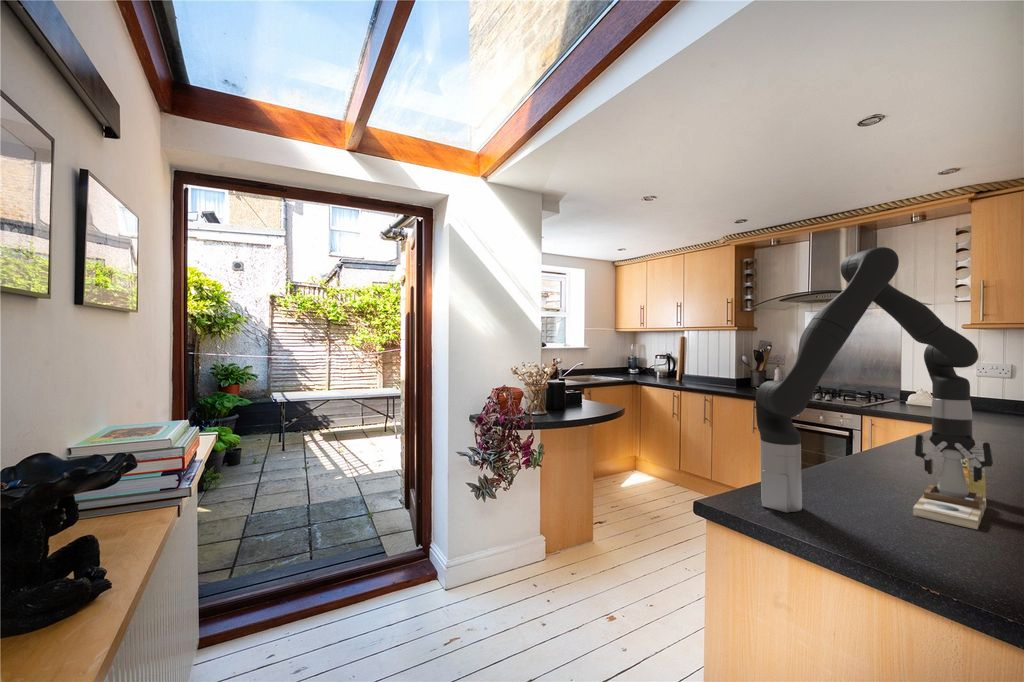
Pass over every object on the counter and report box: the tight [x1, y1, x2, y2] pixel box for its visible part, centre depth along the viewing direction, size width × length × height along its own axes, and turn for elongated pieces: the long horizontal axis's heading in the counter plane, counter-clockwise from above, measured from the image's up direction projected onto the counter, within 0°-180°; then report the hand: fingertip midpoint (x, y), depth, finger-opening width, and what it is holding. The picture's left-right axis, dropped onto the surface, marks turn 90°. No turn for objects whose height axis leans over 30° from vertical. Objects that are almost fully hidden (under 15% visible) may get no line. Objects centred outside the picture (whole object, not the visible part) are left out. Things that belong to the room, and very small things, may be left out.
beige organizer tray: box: [912, 484, 987, 530], centre depth 111 cm, size 22×11×4 cm, turn 129°
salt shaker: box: [937, 449, 969, 499], centre depth 114 cm, size 6×6×13 cm
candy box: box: [961, 445, 987, 500], centre depth 122 cm, size 9×4×15 cm, turn 169°
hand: (952, 477), depth 114 cm, fingers open, 8 cm apart
